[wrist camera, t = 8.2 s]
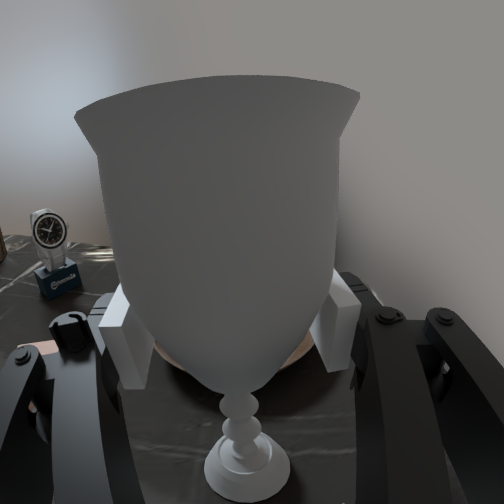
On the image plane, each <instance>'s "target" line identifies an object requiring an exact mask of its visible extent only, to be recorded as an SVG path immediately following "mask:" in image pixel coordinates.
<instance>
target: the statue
mask: <svg viewBox="0 0 504 504" xmlns="http://www.w3.org/2000/svg"><path fill="white" fill-rule="evenodd" d="M6 254H7V250H6V247H5V243H4V240H3V236H2V232H1V228H0V261H2V260H3V258H5V256H6Z"/></svg>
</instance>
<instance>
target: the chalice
mask: <svg viewBox="0 0 504 504" xmlns="http://www.w3.org/2000/svg"><path fill="white" fill-rule="evenodd" d="M359 99H360V93H359V92H357V91H355V90H352V89H349V88H347V87H344V86H341V85H339V84H334V83H328V82H323V81H317V80H310V79H303V78H296V77H288V76H287V77H286V76H262V75H235V76H234V75H233V76H212V77H202V78H193V79H186V80H179V81H173V82H166V83H160V84H154V85H149V86H144V87H141V88H137V89H133V90H130V91H127V92H123V93H119V94H117V95H113V96H110V97H107V98H104V99H101V100H98V101H96V102H94V103H92V104H90V105H88V106H86V107H84V108H82V109H80V110H78V111H77V112H76V114H75V116H74V118H75V121H76V122H77V124H78V126H79V127H80V129H81V130H82V132H83V134H84V135H85V137H86V139H87V140H88V142H89V144H90V145H91V147H92V148H93V150H94V151H95V153H96V155H97V158H98V167H99V174H100V182H101V188H102V196H103V202H104V208H105V214H106V219H107V225H108V230H109V235H110V239H111V245H112V249H113V254H114V258H115V263H116V267H117V271H118V275H119V279H120V283H121V287H122V291H123V294H124V295H125V297H126V299H127V301H128V302H129V304H130V306H131V307H132V309H133V310H134V312H135V313H136V315H137V316H138V317H139V319H140V320H141V321H142V323H143V324H144V325H145V327H146V328H147V329H148V331H149V332H150V333H151V335H152V336H153V337H154V339H155V340H156V341H157V343H158V344H159V345H160V346H161V348H162V349H163V350H164V351H165V353H167V354H168V355H169V356H170V357H171V358H172V359H173V360H174V361H176V362H177V363H178V364H179V365H180V366H181V367H182V368H184V369H185V370H186V371H187V372H188V373H189V374H191V375H192V376H193V377H194V378H195V379H197V380H198V381H199V382H200V383H202V384H203V385H204V386H206V387H207V388H209V389H211V390H212V391H214V392H218V393H222V394H225V396H224V397H223V398H222V400H221V402H220V406H219V407H220V410H221V412H222V413H223V414H224V415H225V416H226V417H228V419H226V420H225V422H224V424H223V427H222V430H223V433H224V436H223V437H222V438H221V439H219V440H218V441H217V442H216V444H215V446H214V447H213V449H212V450H211V451H210V453H209V454H208V456H207V458H206V460H205V466H204V472H205V476H206V480H207V482H208V483H209V485H210V486H211V487H212V489H213V490H214V491H215V492H217V493H218V494H220V495H221V496H222V497H224V498H226V499H229V500H233V501H236V502H249V503H253V502H257V501H261V500H265V499H268V498H269V497H271V496H273V495H274V494H276V493H278V492H279V491H280V490H281V488H282V487H283V486H284V485H285V484H286V482H287V480H288V477H289V474H290V461H289V459H288V456H287V454H286V452H285V451H284V450H283V449H282V448H281V447H280V446H279V445H278V444H277V443H276V442H275V441H274V440H272V439H271V438H270V437H269V436H267V435H266V434H264V433H262V432H261V424H260V422H259V421H258V420H257V419H256V418H255V417H253V415H254V414H255V413H256V412H257V410H258V406H259V403H258V401H257V399H256V398H255V397H254V396H253V395H251V392H253V391H255V390H257V389H259V388H261V387H263V386H264V385H265V384H266V383H267V382H268V381H269V380H270V379H271V378H272V377H273V376H274V375H275V373H276V372H277V371H278V370H279V369H280V368H281V366H282V365H283V364H284V363H285V362H286V361H287V359H288V358H289V357H290V356H291V355H292V353H293V352H294V351H295V350H296V349H297V347H298V346H299V345H300V344H301V342H302V341H303V340H304V338H305V336H306V334H307V332H308V331H309V329H310V327H311V325H312V323H313V321H314V319H315V318H316V316H317V314H318V312H319V310H320V308H321V306H322V304H323V302H324V300H325V299H326V297H327V295H328V293H329V289H330V285H331V281H332V278H333V270H334V257H335V244H336V231H337V213H338V189H339V138H340V136H341V134H342V132H343V130H344V128H345V126H346V125H347V123H348V120H349V119H350V117H351V115H352V113H353V111H354V109H355V107H356V105H357V103H358V101H359Z"/></svg>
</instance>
